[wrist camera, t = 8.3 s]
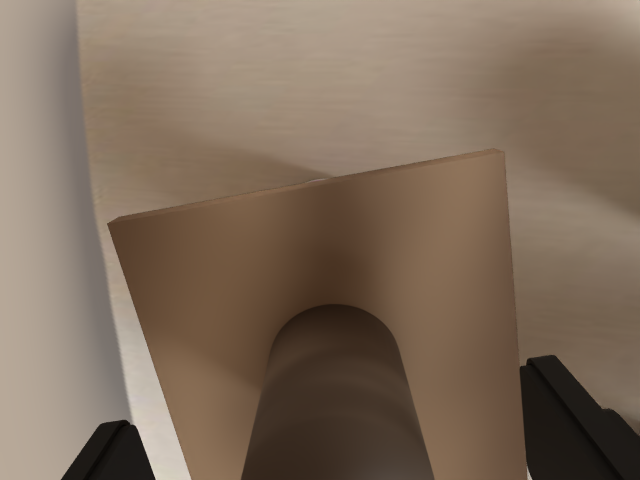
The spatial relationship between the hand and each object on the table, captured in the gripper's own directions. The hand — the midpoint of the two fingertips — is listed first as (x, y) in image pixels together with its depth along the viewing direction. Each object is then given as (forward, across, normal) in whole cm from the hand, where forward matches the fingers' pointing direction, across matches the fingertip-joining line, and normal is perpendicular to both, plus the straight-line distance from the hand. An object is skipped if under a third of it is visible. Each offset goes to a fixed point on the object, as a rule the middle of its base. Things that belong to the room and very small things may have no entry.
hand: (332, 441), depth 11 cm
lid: (+4, 0, 0) cm, 4 cm away
